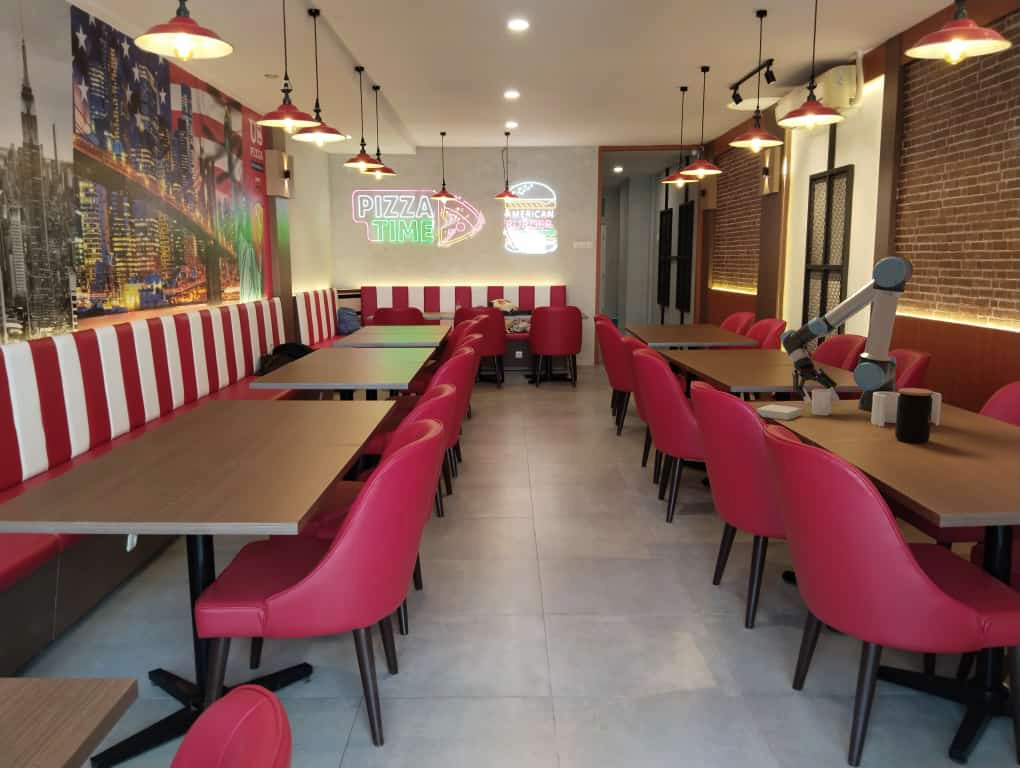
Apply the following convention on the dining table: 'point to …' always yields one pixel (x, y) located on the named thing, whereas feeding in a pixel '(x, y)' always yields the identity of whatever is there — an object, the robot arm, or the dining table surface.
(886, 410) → the bracket
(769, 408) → the plinth
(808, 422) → the dining table surface
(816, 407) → the white cup
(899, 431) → the coffee jar
